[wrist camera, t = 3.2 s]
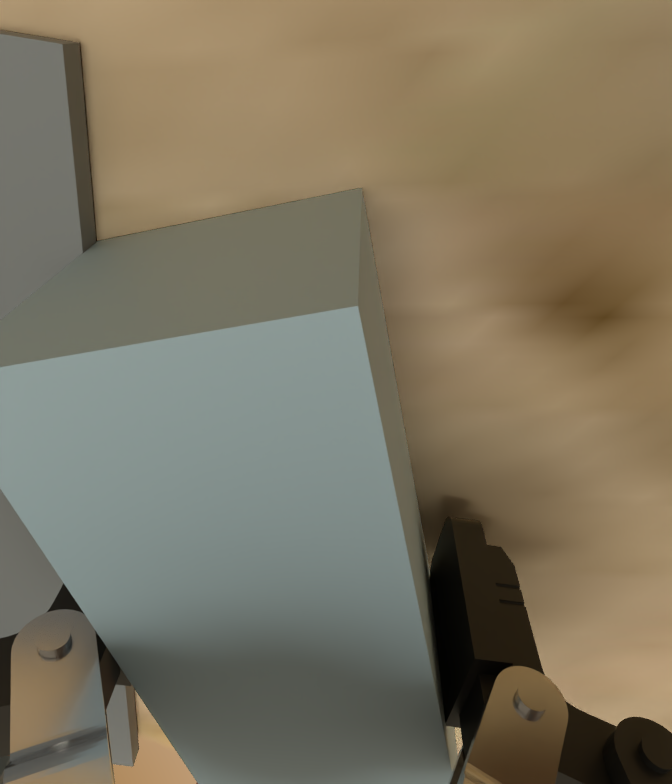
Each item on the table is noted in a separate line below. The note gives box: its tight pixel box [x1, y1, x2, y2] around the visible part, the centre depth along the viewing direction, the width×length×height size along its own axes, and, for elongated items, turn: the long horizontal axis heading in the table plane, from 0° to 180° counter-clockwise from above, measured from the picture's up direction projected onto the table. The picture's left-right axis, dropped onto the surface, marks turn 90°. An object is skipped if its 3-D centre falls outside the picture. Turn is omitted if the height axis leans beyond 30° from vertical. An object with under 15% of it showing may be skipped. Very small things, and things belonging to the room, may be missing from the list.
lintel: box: [0, 188, 458, 784], centre depth 12 cm, size 5×14×5 cm, turn 12°
